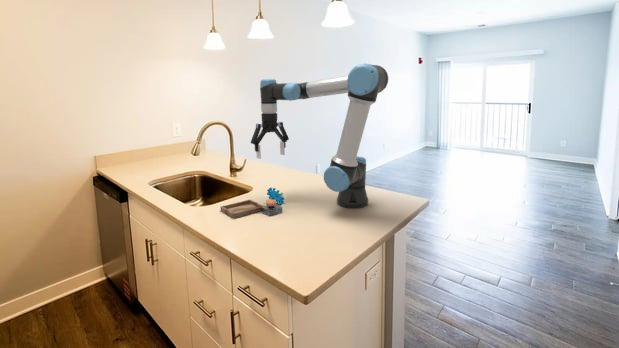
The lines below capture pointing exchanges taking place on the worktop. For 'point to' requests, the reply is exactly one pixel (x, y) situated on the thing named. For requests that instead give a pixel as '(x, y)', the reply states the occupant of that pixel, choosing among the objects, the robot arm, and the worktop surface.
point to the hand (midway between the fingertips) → (270, 156)
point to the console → (271, 210)
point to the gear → (275, 196)
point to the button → (271, 202)
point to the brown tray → (241, 209)
